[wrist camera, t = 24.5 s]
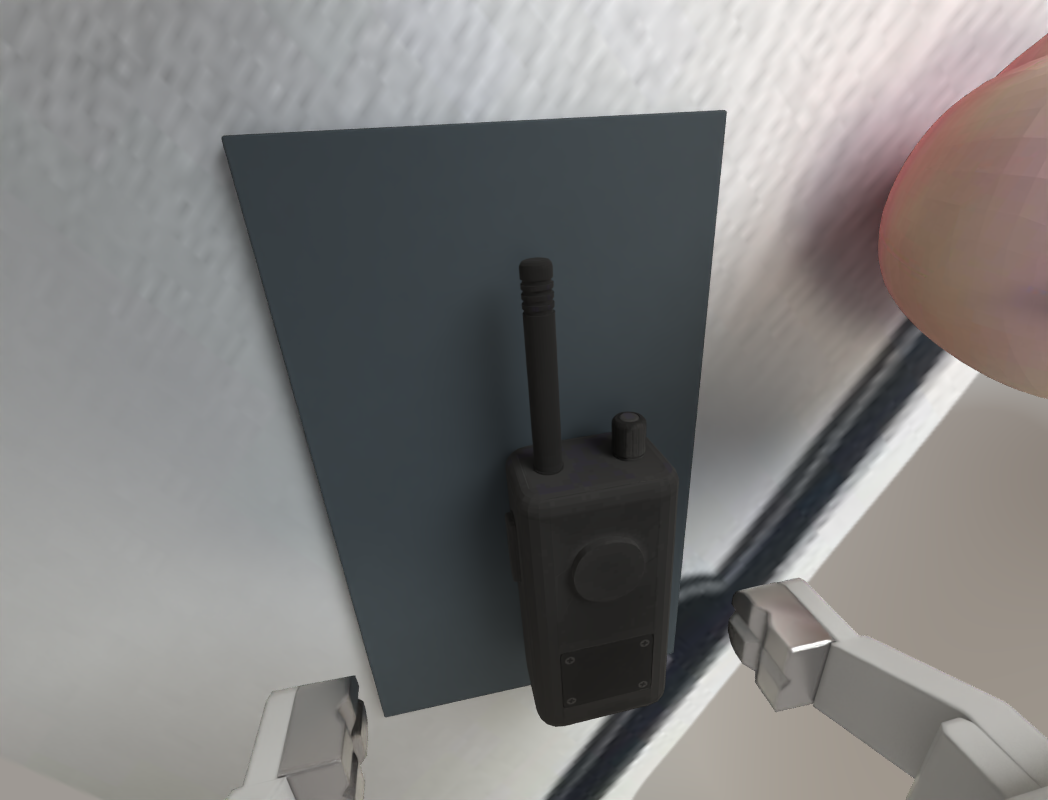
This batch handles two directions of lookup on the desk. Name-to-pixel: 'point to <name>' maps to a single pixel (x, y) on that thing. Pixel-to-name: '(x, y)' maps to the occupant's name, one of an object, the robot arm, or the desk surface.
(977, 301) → the decorative fruit
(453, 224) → the mat
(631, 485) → the walkie-talkie
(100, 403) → the desk surface
